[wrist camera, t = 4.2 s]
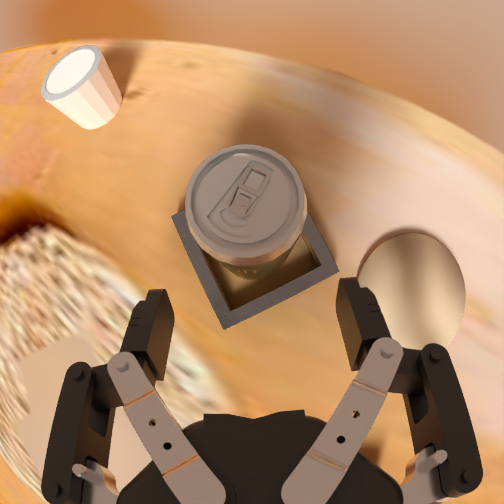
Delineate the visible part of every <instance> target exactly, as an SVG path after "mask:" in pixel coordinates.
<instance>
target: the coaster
mask: <svg viewBox="0 0 504 504" xmlns="http://www.w3.org/2000/svg"><path fill="white" fill-rule="evenodd" d="M357 280H358V282H359V285H360V287H361V288H363V287H368V288H369V289H370V290H371V291H372V292H373V293H374V294H375V297H376V299H377V301H378V305H379V306H380V309H381V312H382V314H383V316H384V319H385V321H386V324H387V326H388V329H389V331H390V334H391V336H392V338H393V339H395V340H396V341H398V342H399V343H400V345H401V346H402V347H404V348H408V349H416V350H422V349H423V347H424V346H425V345H427V344H430V343H436V344H440V345H441V346H443V347H444V348H446V346H447V345H448V344H449V343H450V342H451V340H452V339H453V338H454V336H455V334H456V332H457V331H458V328H459V326H460V324H461V321H462V317H463V314H464V308H465V284H464V279H463V275H462V272H461V270H460V267H459V265H458V263H457V261H456V259H455V258H454V256H453V255H452V253H451V252H450V251H449V250H448V249H447V248H446V247H445V246H444V245H443V244H442V243H440V242H439V241H437V240H436V239H434V238H432V237H430V236H427V235H424V234H418V233H408V234H402V235H398V236H395V237H393V238H391V239H389V240H387V241H385V242H384V243H382V244H381V245H379V246H378V247H377V248H376V249H375V250H374V251H373V252H372V253H371V254H370V256H369V257H368V258H367V260H366V261H365V263H364V265H363V267H362V269H361V271H360V273H359V276H358V279H357Z"/></svg>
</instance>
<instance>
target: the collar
mask: <svg viewBox="0 0 504 504" xmlns="http://www.w3.org/2000/svg"><path fill="white" fill-rule="evenodd" d="M171 217H172V220H173V222H174V224H175V227H176V229H177V231H178V233H179V236H180V238H181V240H182V242H183V245H184V247H185V249H186V251H187V254H188V256H189V258H190V260H191V262H192V265H193V267H194V269H195V271H196V273H197V275H198V278H199V280H200V282H201V284H202V286H203V288H204V290H205V292H206V295H207V297H208V299H209V301H210V303H211V305H212V307H213V309H214V311H215V313H216V315H217V317H218V319H219V321H220V323H221V325H222V327H223V329H227V328H229V327H231V326H233V325H235V324H237V323H239V322H241V321H243V320H245V319H247V318H250V317H252V316H254V315H256V314H258V313H260V312H262V311H264V310H266V309H268V308H270V307H272V306H274V305H276V304H278V303H280V302H282V301H284V300H286V299H288V298H290V297H292V296H294V295H296V294H298V293H299V292H301V291H303V290H305V289H307V288H309V287H311V286H313V285H315V284H317V283H319V282H320V281H322V280H324V279H326V278H328V277H330V276H332V275H334V274H335V273H337V272H339V269H338V267H337V265H336V263H335V261H334V259H333V257H332V255H331V254H330V252H329V250H328V248H327V246H326V244H325V242H324V240H323V238H322V236H321V235H320V233H319V231H318V229H317V227H316V225H315V223H314V222H313V220H312V218H311V216H310V214H309V212H308V211H307V216H306V219H305V223H304V226H303V229H302V232H301V235H302V237H303V239H304V241H305V243H306V244H307V246H308V248H309V250H310V252H311V254H312V256H313V258H314V260H315V262H316V264H317V266H318V268H316V269H314V270H312V271H310V272H308V273H306V274H304V275H302V276H300V277H299V278H297V279H295V280H293V281H291V282H289V283H287V284H285V285H283V286H281V287H279V288H277V289H275V290H273V291H271V292H269V293H267V294H265V295H263V296H261V297H259V298H257V299H255V300H253V301H251V302H249V303H247V304H245V305H243V306H241V307H239V308H237V309H234V310H231V308H230V306H229V304H228V302H227V300H226V298H225V295H224V293H223V291H222V289H221V287H220V285H219V283H218V281H217V279H216V277H215V275H214V273H213V271H212V268H211V266H210V264H209V262H208V260H207V258H206V256H205V254H204V251H203V249H202V248H201V247H200V246H199V244H198V243H197V241H196V240H195V238H194V237H193V235H192V234H191V232H190V229H189V226H188V222H187V218H186V209H184V210H182V211H181V212H179V213H177V214H175V215H173V216H171Z"/></svg>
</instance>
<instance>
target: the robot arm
mask: <svg viewBox="0 0 504 504" xmlns="http://www.w3.org/2000/svg"><path fill="white" fill-rule="evenodd" d="M336 313H337V317H338V321H339V325H340V328H341V332H342V336H343V340H344V343H345V347H346V351H347V355H348V359H349V363H350V367H351V371H357V370H359V372H358V374H357V376H356V378H355V379H354V380H353V381H352V383H351V384H350V386H349V388H348V390H347V391H346V393H345V395H344V396H343V398H342V400H341V402H340V403H339V405H338V407H337V408H336V410H335V411H334V413H333V415H332V416H331V418H330V419H329V421H328V423H326V422H325V421H323V420H321V419H318V418H315V417H311V416H305V411H304V410H294V411H283V412H277V413H274V414H270V415H267V416H264V417H260V418H256V419H250V418H245V417H240V416H235V415H231V414H204V419H203V420H201V421H198V422H195V423H193V424H191V425H189V426H187V427H186V428H184V429H182V428H181V426H180V425H179V424H178V422H177V421H176V419H175V418H174V417H173V415H172V414H171V412H170V411H169V409H168V408H167V406H166V405H165V403H164V402H163V400H162V399H161V397H160V395H159V394H158V392H157V391H156V389H155V388H154V387H155V382H156V380H160V381H164V375H165V369H166V364H167V358H168V353H169V347H170V342H171V337H172V332H173V327H174V312H173V309H172V306H171V303H170V300H169V297H168V294H167V291H166V290H165V289H153V290H149V291H148V294H147V297H146V300H145V301H139V303H138V304H137V305H136V306H135V307H134V309H133V311H132V314H131V319H130V321H129V324H128V327H127V330H126V333H125V336H124V339H123V343H122V346H121V349H120V352H119V353H117V354H115V355H114V356H113V357H112V358H111V359H110V360H109V362H108V364H105V365H101V366H96V367H92V368H91V367H90V366H89V365H88V364H87V363H85V362H77V363H74V364H73V365H71V366H70V367H69V369H68V370H67V372H66V375H65V379H64V382H63V385H62V389H61V393H60V396H59V400H58V404H57V408H56V412H55V416H54V420H53V424H52V429H51V433H50V438H49V443H48V448H47V453H46V458H45V464H44V470H43V477H42V484H41V491H42V494H43V496H44V498H45V499H46V500H47V501H48V502H49V503H50V504H440V503H443V502H446V501H449V500H451V499H454V498H457V497H459V496H462V495H464V494H467V493H469V492H472V491H473V490H475V489H476V488H477V487H478V486H479V484H480V483H481V481H482V477H483V469H482V464H481V459H480V455H479V450H478V446H477V442H476V438H475V434H474V430H473V426H472V423H471V419H470V416H469V412H468V409H467V406H466V402H465V399H464V396H463V393H462V390H461V387H460V384H459V381H458V378H457V375H456V372H455V370H454V367H453V364H452V361H451V359H450V356H449V354H448V351H447V350H446V349H445V348H444V347H443V346H441V345H440V344H436V343H430V344H427V345H425V346H424V347H423V349H422V350H416V349H408V348H404V347H402V346H401V345H400V343H399V342H398V341H396V340H395V339H393V338H392V336H391V334H390V331H389V329H388V326H387V324H386V321H385V319H384V316H383V314H382V312H381V309H380V306H379V305H378V301H377V299H376V297H375V294H374V293H373V292H372V291H371V290H370V289H369V288H368V287H363V288H361V287H360V285H359V282H358V280H357V278H356V277H350V278H340V280H339V285H338V291H337V298H336ZM387 392H392V393H401V394H403V398H404V403H405V407H406V412H407V416H408V421H409V426H410V431H411V436H412V441H413V446H414V452H415V456H414V457H412V458H411V459H410V460H409V462H408V463H407V466H406V474H405V479H404V481H403V483H402V484H401V485H399V484H398V483H397V481H396V480H395V479H393V478H392V477H391V476H390V475H388V474H387V473H386V472H385V471H383V470H382V469H381V468H380V467H379V466H377V465H376V464H375V463H374V462H373V461H371V460H370V459H369V458H368V457H367V456H365V455H364V454H363V453H362V452H361V451H359V449H360V447H361V445H362V443H363V442H364V440H365V438H366V436H367V434H368V432H369V431H370V429H371V427H372V425H373V423H374V421H375V419H376V417H377V415H378V413H379V411H380V409H381V407H382V405H383V403H384V400H385V398H386V396H387ZM119 406H123V408H124V410H125V412H126V414H127V416H128V418H129V420H130V422H131V424H132V425H133V427H134V429H135V431H136V432H137V434H138V436H139V438H140V439H141V441H142V443H143V445H144V446H145V448H146V450H147V451H148V453H149V454H150V456H151V458H152V459H153V460H152V461H151V462H150V463H149V464H148V465H147V466H146V467H145V468H144V469H143V470H142V471H141V472H140V473H139V474H138V475H137V476H136V477H135V478H134V479H133V480H132V481H131V482H130V483H129V484H127V486H125V487H124V488H123V489H122V490H121V492H120V493H119V492H118V490H117V488H116V480H115V477H114V475H113V473H112V472H111V471H110V470H108V459H109V452H110V444H111V436H112V429H113V423H114V416H115V409H116V407H119Z"/></svg>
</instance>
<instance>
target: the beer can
mask: <svg viewBox="0 0 504 504" xmlns="http://www.w3.org/2000/svg"><path fill="white" fill-rule="evenodd" d="M185 209H186V218H187V222H188V226H189V229H190V232H191V234H192V235H193V237H194V238H195V240H196V241H197V243H198V244H199V246H200V247H201V248H202V249H203V250H204V251H206V252H207V253H208V254H209V255H211V256H212V257H213V258H214V259H216V260H217V261H218V262H219V263H221V264H222V265H223V266H224V267H226V268H227V269H228V270H230V271H231V272H232V273H234V274H235V275H236V276H238V277H241V278H244V279H247V280H260V279H263V278H266V277H269V276H271V275H272V274H274V273H275V272H277V271H278V270H279V269H280V268H281V266H282V265H283V263H284V262H285V261H286V259H287V257H288V255H289V254H290V252H291V250H292V248H293V247H294V245H295V243H296V241H297V239H298V238H299V236H300V234H301V232H302V229H303V226H304V223H305V219H306V216H307V199H306V194H305V191H304V187H303V185H302V182H301V179H300V177H299V174H298V172H297V171H296V170H295V168H294V167H293V166H292V165H291V164H290V162H289V161H288V160H287V159H286V158H285V157H283V156H282V155H280V154H278V153H277V152H275V151H274V150H272V149H269V148H266V147H262V146H259V145H255V144H242V145H233V146H230V147H227V148H224V149H220V150H218V151H217V152H215V153H214V154H212V155H211V156H209V157H208V158H206V159H205V160H204V161H203V162H202V163H201V164H200V165H199V167H198V168H197V169H196V170H195V171H194V173H193V174H192V177H191V179H190V182H189V184H188V186H187V189H186V200H185Z"/></svg>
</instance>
